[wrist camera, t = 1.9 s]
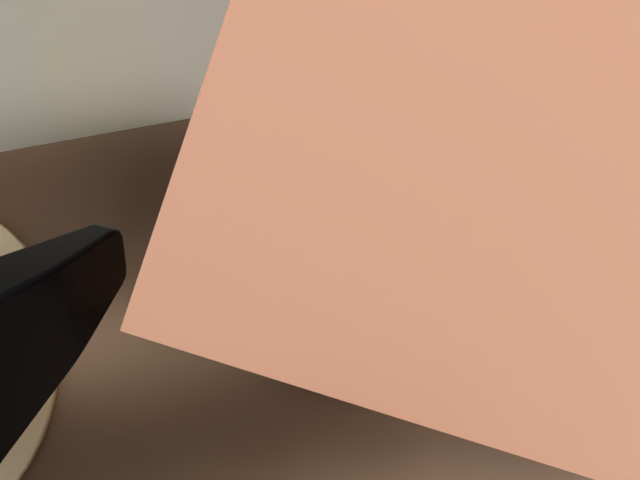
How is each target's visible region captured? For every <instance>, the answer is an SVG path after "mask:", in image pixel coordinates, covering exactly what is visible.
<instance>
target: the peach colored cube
mask: <svg viewBox="0 0 640 480" xmlns="http://www.w3.org/2000/svg"><path fill="white" fill-rule="evenodd" d="M120 331H122V332H125V333H128V334H131V335H134V336H138V337H141V338H144V339H147V340H150V341H154V342H157V343H160V344H163V345H166V346H170V347H173V348H176V349H179V350H182V351H186V352H189V353H192V354H195V355H198V356H202V357H205V358H208V359H211V360H214V361H218V362H221V363H224V364H227V365H230V366H233V367H237V368H240V369H243V370H246V371H249V372H253V373H256V374H259V375H262V376H265V377H269V378H272V379H275V380H278V381H281V382H285V383H288V384H291V385H294V386H297V387H301V388H304V389H307V390H310V391H313V392H317V393H320V394H323V395H326V396H329V397H332V398H336V399H339V400H342V401H345V402H348V403H352V404H355V405H358V406H361V407H364V408H368V409H371V410H374V411H377V412H380V413H384V414H387V415H390V416H393V417H396V418H400V419H403V420H406V421H409V422H412V423H415V424H419V425H422V426H425V427H428V428H431V429H435V430H438V431H441V432H444V433H447V434H451V435H454V436H457V437H460V438H463V439H467V440H470V441H473V442H476V443H479V444H483V445H486V446H489V447H492V448H495V449H499V450H502V451H505V452H508V453H511V454H514V455H518V456H521V457H524V458H527V459H530V460H534V461H537V462H540V463H543V464H546V465H550V466H553V467H556V468H559V469H562V470H566V471H569V472H572V473H575V474H578V475H582V476H585V477H588V478H591V479H594V480H640V0H230V3H229V6H228V9H227V12H226V15H225V18H224V21H223V24H222V27H221V30H220V33H219V36H218V39H217V42H216V45H215V48H214V51H213V54H212V57H211V60H210V63H209V66H208V69H207V72H206V75H205V78H204V81H203V84H202V87H201V90H200V93H199V96H198V99H197V102H196V105H195V108H194V111H193V114H192V116H191V119H190V122H189V125H188V128H187V131H186V134H185V137H184V140H183V143H182V146H181V149H180V152H179V155H178V158H177V161H176V164H175V167H174V170H173V173H172V176H171V179H170V182H169V185H168V188H167V191H166V194H165V197H164V200H163V203H162V206H161V209H160V212H159V215H158V218H157V221H156V224H155V227H154V230H153V233H152V236H151V239H150V242H149V245H148V248H147V251H146V254H145V257H144V260H143V263H142V266H141V269H140V272H139V275H138V278H137V281H136V284H135V287H134V290H133V293H132V296H131V299H130V301H129V304H128V307H127V310H126V313H125V316H124V319H123V322H122V325H121V328H120Z"/></svg>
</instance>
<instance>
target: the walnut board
mask: <svg viewBox="0 0 640 480" xmlns="http://www.w3.org/2000/svg"><path fill="white" fill-rule="evenodd" d="M189 122H190V119H186V120H180V121H175V122H169V123H163V124H158V125H152V126H146V127H141V128H135V129H129V130H124V131H118V132H112V133H107V134H101V135H96V136H90V137H84V138H79V139H73V140H67V141H62V142H56V143H50V144H45V145H39V146H33V147H28V148H22V149H16V150H11V151H5V152H0V256H2V255H5V254H8V253H11V252H14V251H17V250H20V249H23V248H25V247H28V246H31V245H34V244H37V243H40V242H43V241H46V240H49V239H51V238H54V237H57V236H60V235H63V234H66V233H69V232H72V231H75V230H78V229H80V228H83V227H86V226H89V225H92V224H102V225H105V226H109V227H112V228H116V229H118V230H119V231H120V232H121V234H122V236H123V243H124V251H125V259H126V267H127V271H126V277H125V280H124V282H123V284H122V286H121V288H120V290H119V291H118V293H117V295H116V296H115V298H114V300H113V301H112V303H111V305H110V307H109V308H108V310H107V312H106V313H105V315H104V317H103V318H102V320H101V322H100V324H99V325H98V327H97V329H96V330H95V332H94V334H93V335H92V337H91V339H90V341H89V342H88V344H87V346H86V347H85V349H84V350H83V352H82V354H81V355H80V357H79V358H78V360H77V361H76V362H75V364H74V365H73V367H72V368H71V369H70V371H69V372H68V374H67V375H66V376H65V378H64V379H63V380H62V382H61V383H60V384H59V386H58V387H57V388H56V390H55V391H54V392H53V394H52V395H51V396H50V398H49V399H48V400H47V402H46V403H45V404H44V406H43V407H42V408H41V410H40V411H39V412H38V414H37V415H36V416H35V418H34V419H33V420H32V422H31V423H30V425H29V426H28V427H27V429H26V430H25V431H24V433H23V434H22V435H21V437H20V438H19V439H18V441H17V442H16V443H15V445H14V446H13V447H12V449H11V450H10V451H9V453H8V454H7V455H6V457H5V458H4V459H3V461H2V462H1V463H0V480H594V479H591V478H588V477H585V476H582V475H578V474H575V473H572V472H569V471H566V470H562V469H559V468H556V467H553V466H550V465H546V464H543V463H540V462H537V461H534V460H530V459H527V458H524V457H521V456H518V455H514V454H511V453H508V452H505V451H502V450H499V449H495V448H492V447H489V446H486V445H483V444H479V443H476V442H473V441H470V440H467V439H463V438H460V437H457V436H454V435H451V434H447V433H444V432H441V431H438V430H435V429H431V428H428V427H425V426H422V425H419V424H415V423H412V422H409V421H406V420H403V419H400V418H396V417H393V416H390V415H387V414H384V413H380V412H377V411H374V410H371V409H368V408H364V407H361V406H358V405H355V404H352V403H348V402H345V401H342V400H339V399H336V398H332V397H329V396H326V395H323V394H320V393H317V392H313V391H310V390H307V389H304V388H301V387H297V386H294V385H291V384H288V383H285V382H281V381H278V380H275V379H272V378H269V377H265V376H262V375H259V374H256V373H253V372H249V371H246V370H243V369H240V368H237V367H233V366H230V365H227V364H224V363H221V362H218V361H214V360H211V359H208V358H205V357H202V356H198V355H195V354H192V353H189V352H186V351H182V350H179V349H176V348H173V347H170V346H166V345H163V344H160V343H157V342H154V341H150V340H147V339H144V338H141V337H138V336H134V335H131V334H128V333H125V332H122V331H120V328H121V325H122V322H123V319H124V316H125V313H126V310H127V307H128V304H129V301H130V299H131V296H132V293H133V290H134V287H135V284H136V281H137V278H138V275H139V272H140V269H141V266H142V263H143V260H144V257H145V254H146V251H147V248H148V245H149V242H150V239H151V236H152V233H153V230H154V227H155V224H156V221H157V218H158V215H159V212H160V209H161V206H162V203H163V200H164V197H165V194H166V191H167V188H168V185H169V182H170V179H171V176H172V173H173V170H174V167H175V164H176V161H177V158H178V155H179V152H180V149H181V146H182V143H183V140H184V137H185V134H186V131H187V128H188V125H189Z"/></svg>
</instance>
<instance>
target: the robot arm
mask: <svg viewBox="0 0 640 480" xmlns="http://www.w3.org/2000/svg"><path fill="white" fill-rule="evenodd" d="M126 271H127V267H126V259H125V251H124V243H123V236H122V234H121V232H120V231H119V230H118V229H116V228H112V227H109V226H105V225H102V224H92V225H89V226H86V227H83V228H80V229H78V230H75V231H72V232H69V233H66V234H63V235H60V236H57V237H54V238H51V239H49V240H46V241H43V242H40V243H37V244H34V245H31V246H28V247H25V248H23V249H20V250H17V251H14V252H11V253H8V254H5V255H2V256H0V463H1V462H2V461H3V459H4V458H5V457H6V455H7V454H8V453H9V451H10V450H11V449H12V447H13V446H14V445H15V443H16V442H17V441H18V439H19V438H20V437H21V435H22V434H23V433H24V431H25V430H26V429H27V427H28V426H29V425H30V423H31V422H32V420H33V419H34V418H35V416H36V415H37V414H38V412H39V411H40V410H41V408H42V407H43V406H44V404H45V403H46V402H47V400H48V399H49V398H50V396H51V395H52V394H53V392H54V391H55V390H56V388H57V387H58V386H59V384H60V383H61V382H62V380H63V379H64V378H65V376H66V375H67V374H68V372H69V371H70V369H71V368H72V367H73V365H74V364H75V362H76V361H77V360H78V358H79V357H80V355H81V354H82V352H83V350H84V349H85V347H86V346H87V344H88V342H89V341H90V339H91V337H92V335H93V334H94V332H95V330H96V329H97V327H98V325H99V324H100V322H101V320H102V318H103V317H104V315H105V313H106V312H107V310H108V308H109V307H110V305H111V303H112V301H113V300H114V298H115V296H116V295H117V293H118V291H119V290H120V288H121V286H122V284H123V282H124V280H125V277H126Z"/></svg>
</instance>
